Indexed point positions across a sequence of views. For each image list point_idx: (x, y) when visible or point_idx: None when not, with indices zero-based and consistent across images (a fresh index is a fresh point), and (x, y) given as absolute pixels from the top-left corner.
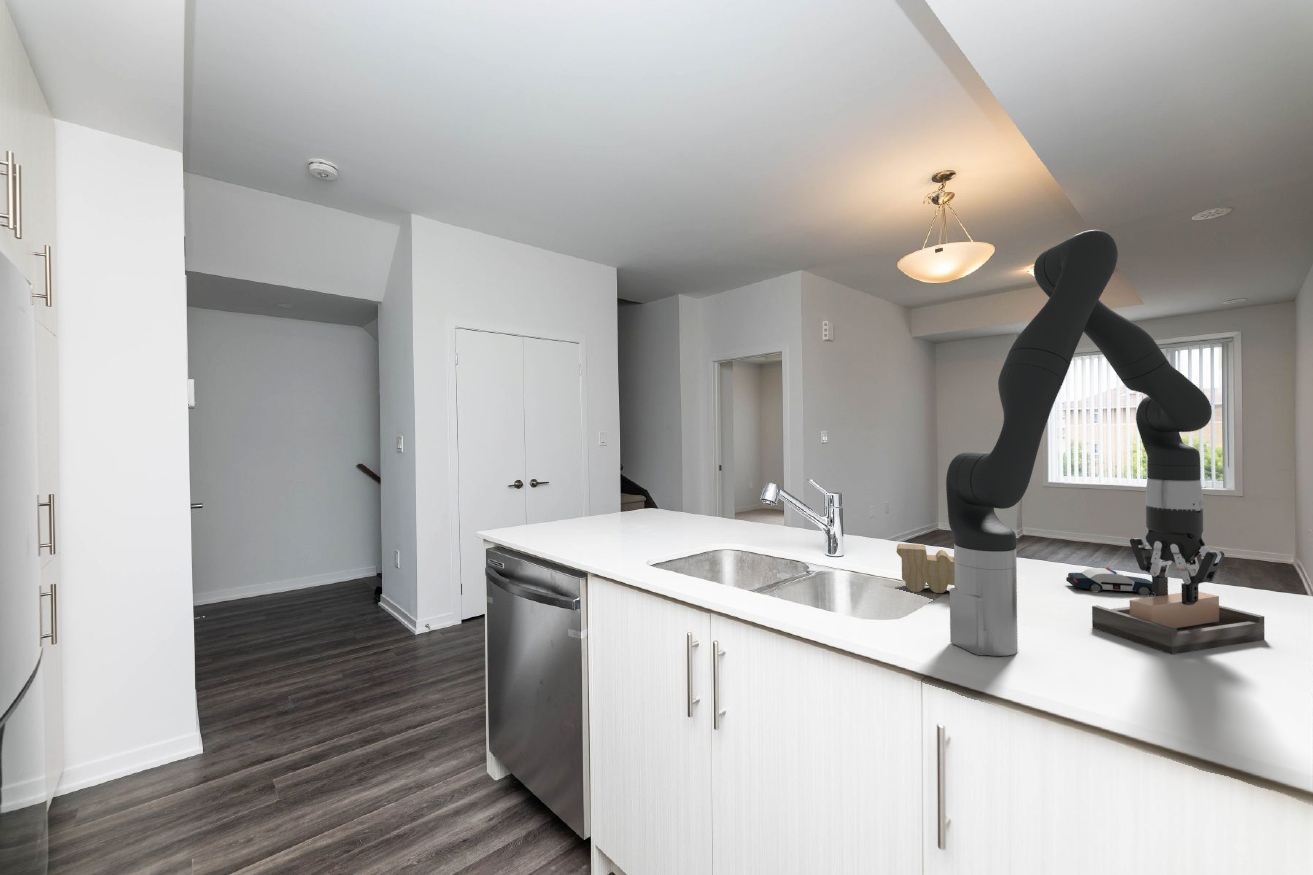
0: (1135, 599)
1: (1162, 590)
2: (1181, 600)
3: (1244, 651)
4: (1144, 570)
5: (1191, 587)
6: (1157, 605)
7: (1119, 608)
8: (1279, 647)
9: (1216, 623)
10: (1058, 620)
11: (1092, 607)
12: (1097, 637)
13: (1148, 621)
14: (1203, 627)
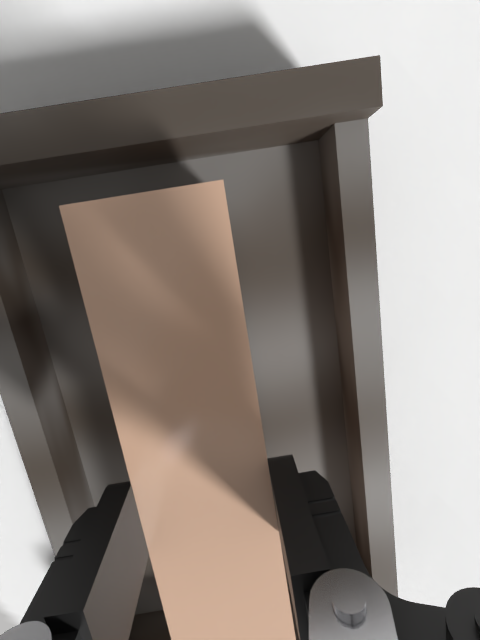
0: (225, 236)
1: (277, 515)
2: (153, 502)
3: (16, 461)
4: (452, 596)
5: (28, 613)
6: (76, 267)
7: (369, 285)
8: None
9: None
10: (460, 23)
11: (373, 61)
12: (211, 6)
13: (40, 136)
14: None
